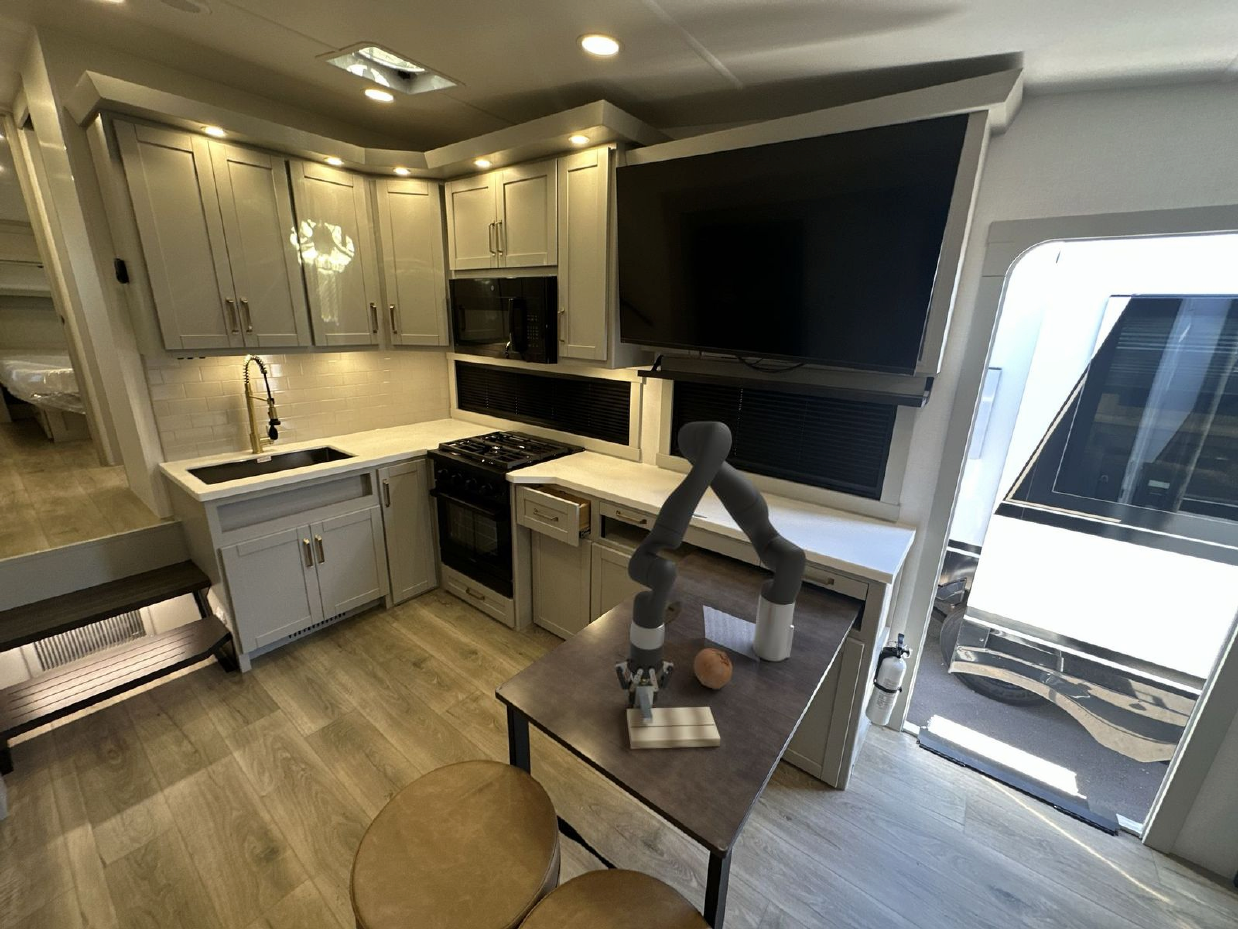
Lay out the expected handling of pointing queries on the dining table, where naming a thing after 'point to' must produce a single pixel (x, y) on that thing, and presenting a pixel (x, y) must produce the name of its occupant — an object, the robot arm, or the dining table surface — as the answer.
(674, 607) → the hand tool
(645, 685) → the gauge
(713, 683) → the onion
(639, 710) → the board
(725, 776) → the dining table surface
